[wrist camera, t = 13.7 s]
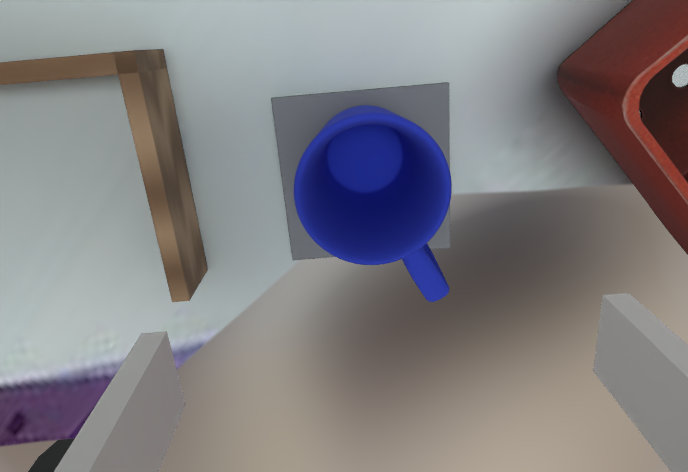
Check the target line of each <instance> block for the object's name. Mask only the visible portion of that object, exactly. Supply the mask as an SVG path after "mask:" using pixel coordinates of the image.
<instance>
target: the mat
mask: <svg viewBox="0 0 688 472" xmlns="http://www.w3.org/2000/svg"><path fill="white" fill-rule="evenodd" d="M271 101H272V109H273V116H274V124H275V131H276V139H277V147H278V154H279V162H280V169H281V177H282V184H283V192H284V199H285V207H286V214H287V222H288V229H289V237H290V244H291V252H292V259H293V260H302V259H314V258H327V257H335V256H333V255H331V254H330V253H328V252H327V251H325V250H324V249H322V248H321V247H320V246H319V245H318V244H316V242H315V241H314V240H313V239H312V238H311V237H310V236H309V234H308V233H307V232H306V230H305V228H304V227H303V225H302V223H301V221H300V219H299V216H298V214H297V210H296V207H295V201H294V180H295V174H296V170H297V167H298V164H299V161H300V159H301V157H302V155H303V153H304V151H305V150H306V148H307V147H308V145H309V144H310V143H311V142H312V140H313V139H314V138H315V137H316V135H317V134H318V133H319V132H320V131H321V129H322V128H323V127H324V126H325V125H326V124H327V122H328V121H329V120H331V119H332V118H333V117H334V116H335V115H337V114H338V113H340V112H342V111H344V110H346V109H349V108H352V107H356V106H363V105H370V106H377V107H381V108H384V109H387V110H389V111H391V112H393V113H395V114H397V115H399V116H401V117H403V118H406V119H408V120H410V121H412V122H413V123H415V124H417V125H418V126H420V127H421V128H422V129H424V130H425V131H426V132H427V133H428V134H429V135H430V136H431V137H432V138H433V139H434V140H435V141H436V143H437V144H438V145H439V147H440V149H441V150H442V152H443V154H444V156H445V158H446V161H447V163H448V166H449V170H450V161H449V83H436V84H424V85H413V86H401V87H390V88H378V89H367V90H355V91H344V92H332V93H321V94H309V95H298V96H286V97H275V98H271ZM427 244H428V246H429V248H430V249H442V248H450V204H449V208H448V211H447V214H446V216H445V218H444V221H443V223H442V224H441V226H440V228H439V229H438V231H437V232H436V233H435V235H434V236H433V237H432V238H431V239H430V240H429V241H428V242H427Z"/></svg>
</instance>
